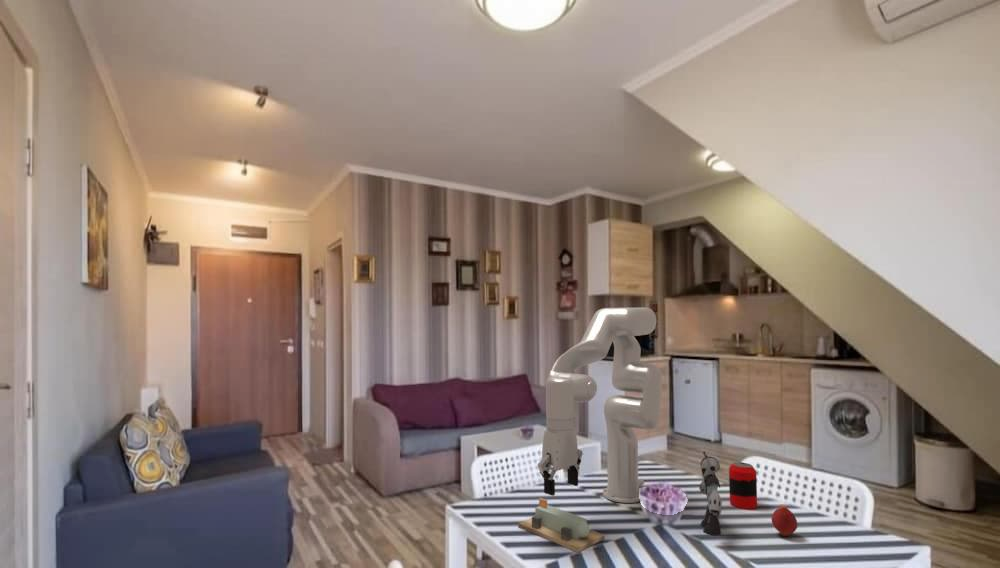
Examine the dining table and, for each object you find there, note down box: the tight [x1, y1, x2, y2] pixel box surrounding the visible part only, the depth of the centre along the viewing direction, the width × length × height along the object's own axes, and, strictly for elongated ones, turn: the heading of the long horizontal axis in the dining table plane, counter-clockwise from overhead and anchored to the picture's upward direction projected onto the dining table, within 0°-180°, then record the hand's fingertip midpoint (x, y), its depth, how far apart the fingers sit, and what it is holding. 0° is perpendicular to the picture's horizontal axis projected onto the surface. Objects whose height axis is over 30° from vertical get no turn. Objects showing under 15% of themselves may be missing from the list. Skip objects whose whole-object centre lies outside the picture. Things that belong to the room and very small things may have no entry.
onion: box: [771, 503, 798, 537], centre depth 131 cm, size 6×6×8 cm
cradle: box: [517, 515, 605, 553], centre depth 132 cm, size 11×20×4 cm, turn 44°
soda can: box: [728, 461, 758, 510], centre depth 153 cm, size 8×8×12 cm
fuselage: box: [534, 497, 591, 539], centre depth 131 cm, size 4×16×6 cm, turn 44°
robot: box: [698, 451, 723, 536], centre depth 136 cm, size 20×5×20 cm, turn 166°
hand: (561, 489), depth 133 cm, fingers open, 9 cm apart
